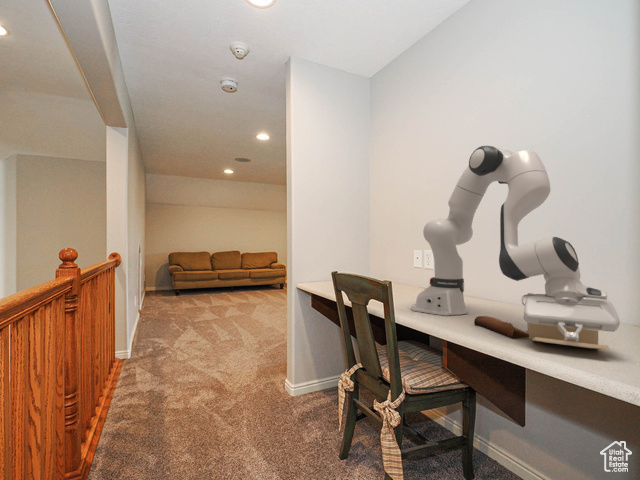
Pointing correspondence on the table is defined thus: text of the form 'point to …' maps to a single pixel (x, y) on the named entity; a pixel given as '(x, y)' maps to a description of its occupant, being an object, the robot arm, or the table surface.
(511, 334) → the brown tapered cylinder
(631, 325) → the table surface
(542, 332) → the carton
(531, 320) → the robot arm
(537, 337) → the flap
